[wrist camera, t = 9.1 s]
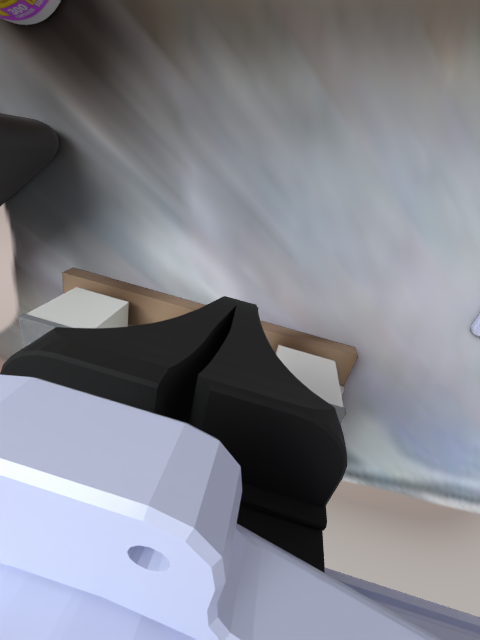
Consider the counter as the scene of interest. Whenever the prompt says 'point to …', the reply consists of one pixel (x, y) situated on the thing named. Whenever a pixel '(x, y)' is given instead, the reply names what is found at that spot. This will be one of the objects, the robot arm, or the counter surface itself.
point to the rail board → (163, 307)
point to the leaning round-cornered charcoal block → (23, 151)
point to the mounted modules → (111, 313)
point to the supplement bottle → (27, 10)
